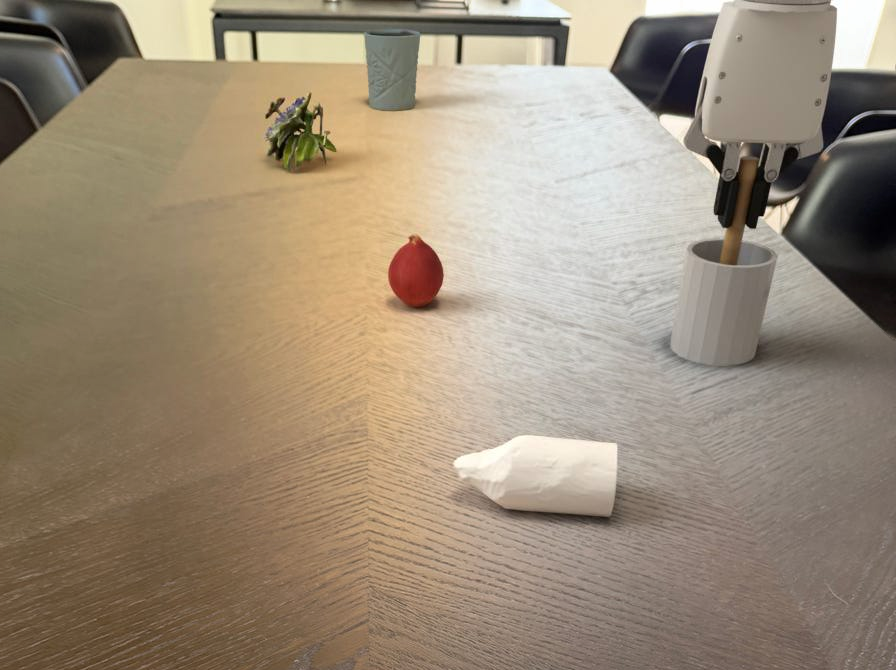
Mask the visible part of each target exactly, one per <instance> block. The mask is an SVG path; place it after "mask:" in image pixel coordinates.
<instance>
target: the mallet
mask: <svg viewBox="0 0 896 670" xmlns="http://www.w3.org/2000/svg"><path fill="white" fill-rule="evenodd" d="M759 161H760V158H759V157H756V156H752V155H751V156H750V155H744V156H741V157H739V161H738V166H737V172H738V176H737V180H738V181H739V182H740V187H739V192H738V197H737V202H736V207H735V212H734V217H733V222H732V226H731V227H729V228H725V233H724V237H723V239H724V242H723V247H722V252H721V257H720V262H719V264H727V265H737V262H738V257H739V252H740V248H741V243H742V240H743V237H744V233H745V228H746V224H745V223H746V219H747V214H748V209H749V204H750V200H751V195H752V190H753V185H754V181H755V176H756V172H757V168H758V165H759Z"/></svg>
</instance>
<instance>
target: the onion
mask: <svg viewBox="0 0 896 670" xmlns="http://www.w3.org/2000/svg"><path fill="white" fill-rule="evenodd" d="M444 277H445V274H444V266H443V264H442V261H441V259H440V257H439V255H438V254H437V252H436V251H435V249H433V247H432V246H430V245H429V244H428V243H426V242H425V241H424V240H423V239H422V237H421V236H420V235H419V234H417V233H413V234H411V235H409V236H408V242H407V243H406V244H404V245H402V246H401V247H400V248H399V249H398V250H397V251H396V252H395V254H394V255H393V258H392V260H391V261H390V264H389V267H388V272H387V278H388V284H389V286H390V289H391V291H392V292H393V294H394V295H395V296H396V297H397V299H399V300H400V301H401V302H403V303H404V304H405V305H406V306H407V307H411V308H422V307H425V306H427V305H429V304H430V303H431V302H432V301H433V300H434V299H435V298H436V297H437V296H438V294H439V292H440V290H441V288H442V286H443V284H444Z"/></svg>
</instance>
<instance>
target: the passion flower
mask: <svg viewBox="0 0 896 670" xmlns="http://www.w3.org/2000/svg"><path fill="white" fill-rule="evenodd" d="M311 99H312V91H308V92H307V95H306V97H305V96H302V97H298V98H296V99H295V101H294V102H292V103H291V105H290V106H288V107H286V109H283V110H282V111H281V110H280V109H279V108H280V107H281V106H282V105H283V104H284V102H285V101H286V97H284V96H283V97H280V96H278V97H277V99H276V100H275V102H274V101H271V102H270V104H269V108H268V110H267V111H266V112H265V113H264V114H265V116H264V118H265V120H268V119H269V118H270V117H271V116H272V115H273V114H274V113H277V114H278V116H277V117H275V120H274V123H271V126H269V127H268V128H267V131H266V132H265V136H266V137H264V140H265V142H267V141H268V144H269V147H268V150H267V153H266V156H267V157H271V156H273V158H274V159H275V161H280V160H282V159H283V160H282V162H283V166H284V169H285V170H287V172H288V173H291V171H292V170H291V169H292V168H291V167H292V163H293V160H294V164H295V167H296V168H299V167H301V166H302V165H304V163H305V162H306V163H310V162H312V161H313V160H315V158H316V157H317V155H318V154H319V150H320V152H321V154H322V157H323V160H324V164H325V165H327V164H328V163H327V158H326V157H327V156H326V150H328V151H330V152H333V153H337V148H336V146H335V145H334V144H333V142H332V141H331V140H330V139H329V138H328V136H329V135H331V131H330V130H324V131H323V120H324V119H323V117H324V108H323V106H322V105H321V103H320V102H319V101H317V102H316V103H315V104H314V105H312V108H313V110H312V111H311V110H309V108H308V106H309V104H310V102H311ZM318 116H319V118H320V119H319V133H313V125H314V121H315V120H316V119H317V117H318ZM297 132H298V133H299V134H297ZM323 133H324V134H323ZM266 138H267V139H266Z"/></svg>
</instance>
